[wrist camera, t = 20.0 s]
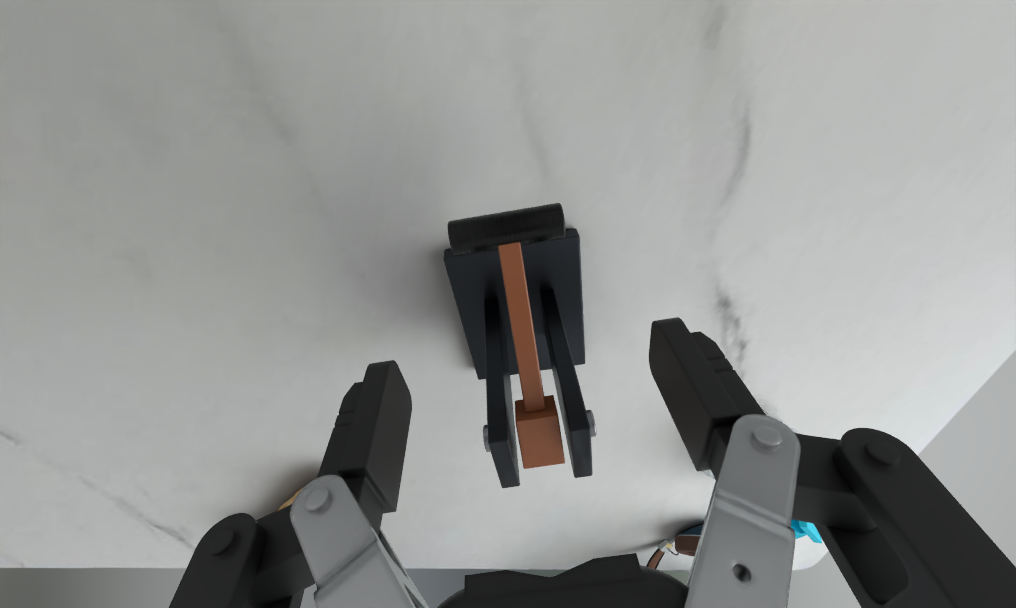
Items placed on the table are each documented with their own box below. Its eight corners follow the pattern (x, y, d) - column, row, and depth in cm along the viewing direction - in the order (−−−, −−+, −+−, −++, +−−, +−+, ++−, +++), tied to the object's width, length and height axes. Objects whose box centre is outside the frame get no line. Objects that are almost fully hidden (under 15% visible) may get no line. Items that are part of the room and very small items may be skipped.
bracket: (444, 249, 27) (425, 399, 17) (576, 227, 27) (636, 367, 17) (478, 369, 35) (479, 524, 25) (582, 354, 34) (627, 504, 24)
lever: (451, 220, 21) (444, 221, 19) (557, 203, 21) (563, 201, 18) (494, 447, 24) (493, 473, 21) (587, 434, 24) (596, 459, 21)
